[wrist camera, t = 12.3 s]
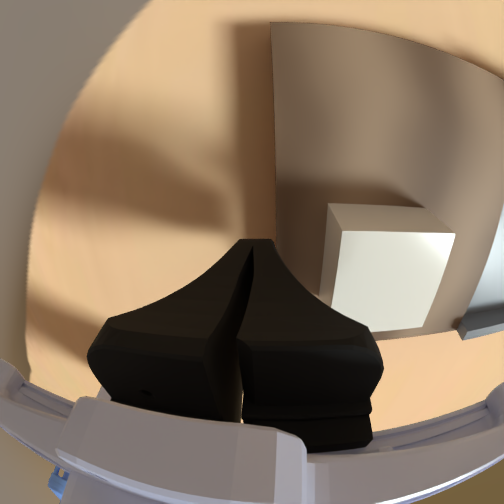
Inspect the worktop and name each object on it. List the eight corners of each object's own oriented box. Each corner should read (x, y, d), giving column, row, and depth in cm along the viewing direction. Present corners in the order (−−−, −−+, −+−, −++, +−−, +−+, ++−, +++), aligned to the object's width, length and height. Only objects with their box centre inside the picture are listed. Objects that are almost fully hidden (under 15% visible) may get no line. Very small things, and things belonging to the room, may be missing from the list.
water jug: (103, 465, 62) (86, 522, 37) (93, 464, 68) (77, 514, 44) (65, 444, 57) (44, 502, 33) (60, 445, 63) (41, 496, 39)
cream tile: (318, 295, 12) (326, 334, 10) (327, 203, 10) (342, 230, 8) (404, 292, 12) (421, 327, 10) (425, 207, 10) (455, 233, 8)
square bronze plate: (275, 319, 16) (275, 344, 14) (270, 35, 9) (270, 22, 7) (444, 310, 15) (456, 330, 13) (490, 83, 8) (513, 85, 6)
